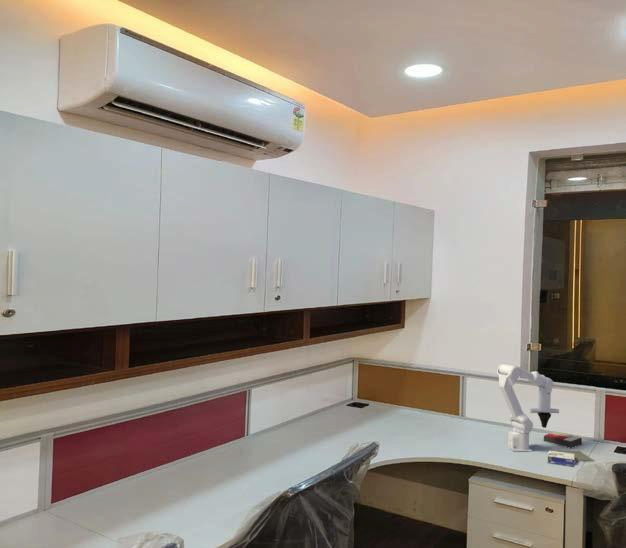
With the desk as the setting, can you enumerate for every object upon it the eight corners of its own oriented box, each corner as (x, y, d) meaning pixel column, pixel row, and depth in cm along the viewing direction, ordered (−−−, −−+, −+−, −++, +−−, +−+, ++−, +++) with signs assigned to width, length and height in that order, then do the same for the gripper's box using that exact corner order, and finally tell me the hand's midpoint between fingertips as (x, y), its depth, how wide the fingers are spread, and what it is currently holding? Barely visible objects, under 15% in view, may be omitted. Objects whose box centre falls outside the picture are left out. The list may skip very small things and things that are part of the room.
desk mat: (571, 461, 262) (571, 460, 262) (557, 451, 276) (557, 450, 276) (594, 461, 262) (594, 460, 262) (579, 452, 276) (579, 450, 276)
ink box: (574, 453, 265) (574, 461, 255) (574, 458, 265) (574, 466, 255) (548, 449, 270) (547, 458, 260) (548, 454, 270) (547, 463, 260)
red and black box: (554, 430, 301) (582, 436, 289) (554, 439, 301) (582, 444, 289) (543, 434, 294) (570, 440, 282) (543, 442, 294) (571, 448, 282)
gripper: (533, 402, 282) (533, 429, 282) (562, 402, 282) (561, 429, 282) (527, 399, 289) (527, 425, 289) (555, 399, 289) (555, 425, 289)
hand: (544, 427), depth 286 cm, fingers closed
